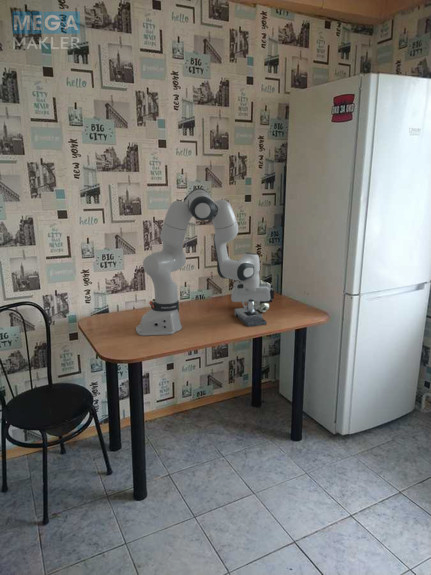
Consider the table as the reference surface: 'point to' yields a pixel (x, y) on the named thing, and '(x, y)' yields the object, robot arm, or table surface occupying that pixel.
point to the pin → (251, 307)
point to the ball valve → (264, 304)
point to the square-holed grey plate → (250, 317)
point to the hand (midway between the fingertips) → (250, 309)
